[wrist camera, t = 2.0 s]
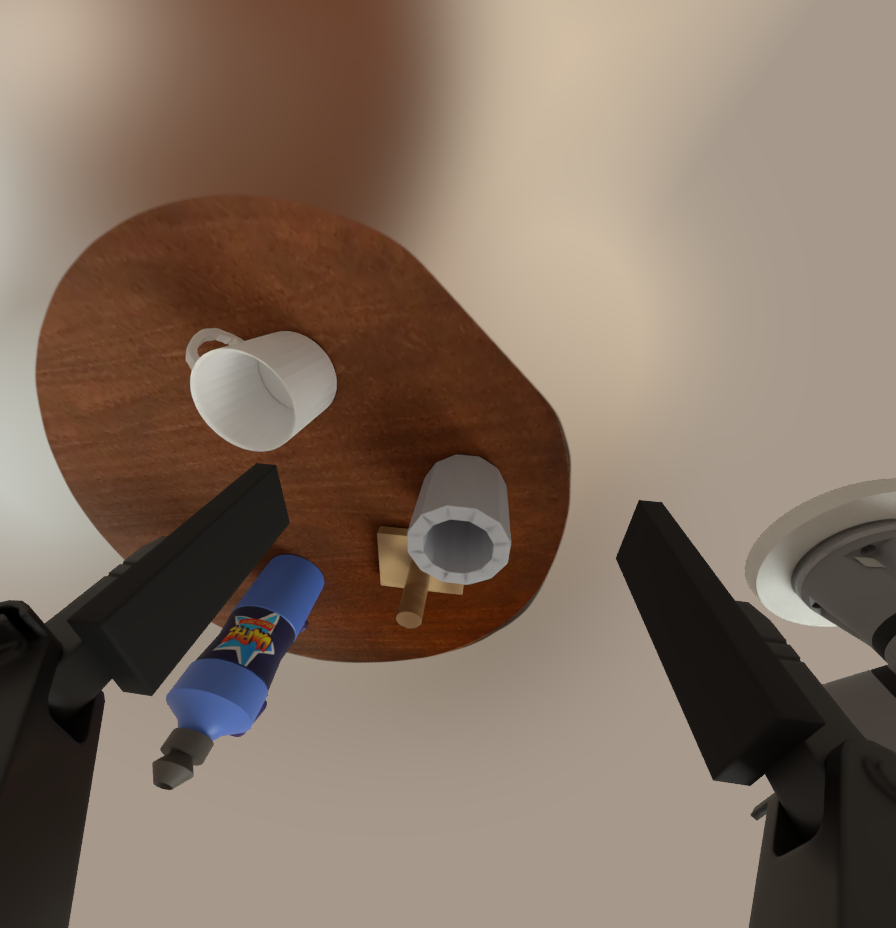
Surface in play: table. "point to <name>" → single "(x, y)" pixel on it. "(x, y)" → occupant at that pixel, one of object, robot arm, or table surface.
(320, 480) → the table surface
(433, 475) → the silver tape
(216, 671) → the water bottle
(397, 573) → the stand
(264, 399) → the mug
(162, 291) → the table surface
